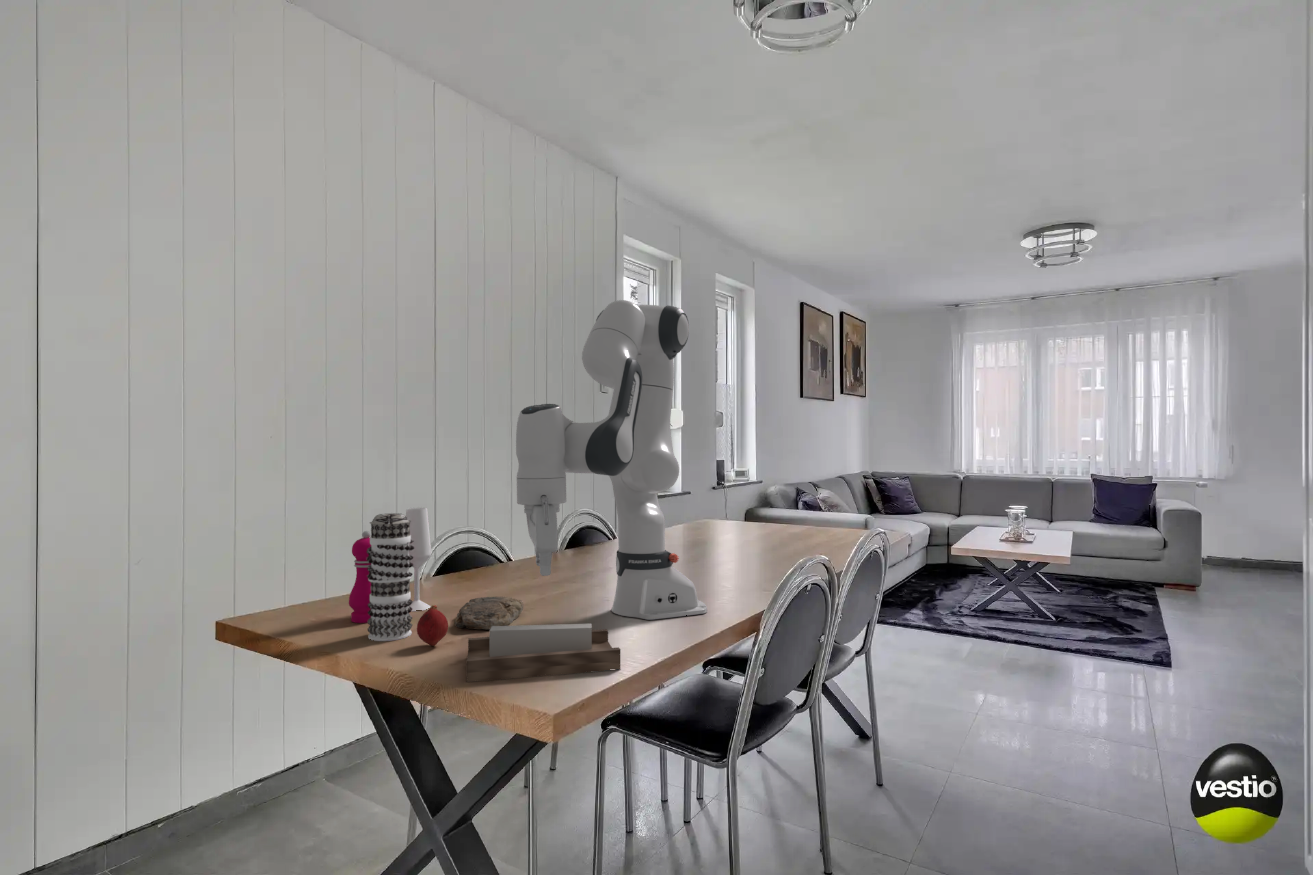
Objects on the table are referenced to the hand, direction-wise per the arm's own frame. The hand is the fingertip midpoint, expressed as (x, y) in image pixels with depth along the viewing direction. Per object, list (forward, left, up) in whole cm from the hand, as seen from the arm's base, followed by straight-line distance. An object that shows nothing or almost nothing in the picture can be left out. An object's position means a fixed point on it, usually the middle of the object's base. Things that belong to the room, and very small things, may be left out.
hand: (543, 570), depth 126 cm
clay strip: (0, 0, -15) cm, 15 cm away
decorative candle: (+29, -26, -17) cm, 43 cm away
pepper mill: (+36, -41, -17) cm, 57 cm away
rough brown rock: (+10, -33, -17) cm, 39 cm away
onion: (+20, -16, -17) cm, 31 cm away
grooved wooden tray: (0, 0, -17) cm, 17 cm away
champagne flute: (+26, -50, -17) cm, 59 cm away
